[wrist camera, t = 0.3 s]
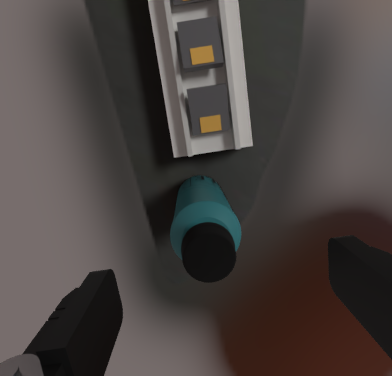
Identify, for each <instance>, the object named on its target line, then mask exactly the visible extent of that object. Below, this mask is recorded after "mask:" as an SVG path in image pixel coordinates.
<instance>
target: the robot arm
mask: <svg viewBox="0 0 392 376" xmlns="http://www.w3.org/2000/svg"><path fill="white" fill-rule="evenodd" d="M328 258H329V259H328V260H329V280H330V284H331V287H332V289H333V291H334V293H335V294H336V296H337V297H338V298H339V299H340V300H341V301H342V302H343V303H344V305H345V306H346V307H347V308H348V309H349V311H350V312H351V313H352V314H353V315H354V316H355V317H356V319H357V320H358V321H359V322H360V323H361V325H362V326H363V327H364V328H365V329H366V330H367V331H368V332H369V334H370V335H371V336H372V337H373V338H374V340H375V341H376V342H377V343H378V344H379V345H380V346H381V347H382V349H383V350H384V351H385V352H386V353H387V354H388V356H389V357H390V358H391V359H392V255H391V254H390V253H388V252H385V251H382V250H380V249H377V248H374V247H370V246H369V245H367V244H365V243H364V242H363V241H361V240H359V239H358V238H357V237H355V236H353V235H350V236H343V237H336V238H331V239H329V242H328ZM122 319H123V308H122V303H121V299H120V295H119V291H118V286H117V282H116V278H115V274H114V272H113V270H111V269H108V270H101V271H94V272H90V273H89V274H88V276H87V277H86V279H85V280H84V281H83V283H82V284H81V286H80V287H79V288H75V289H74V290H73V291H71V292H70V293H69V294H68V295H67V296H65V297H64V298H63V299H62V301H61V302H60V303H59V305H58V306H57V307H56V309H55V311H54V312H53V313H52V314H51V316H50V317H49V319H48V321H46V322H45V324H44V325H43V327H42V328H41V329H40V331H39V332H38V333H37V335H36V336H35V338H34V339H33V340H32V342H31V343H30V344H29V346H28V347H27V349H26V350H25V351H24V353H23V354H22V355H18V356H15V357H12V358H10V359H8V360H6V361H4V362H2V363H0V376H104V374H105V371H106V368H107V365H108V362H109V359H110V356H111V353H112V350H113V347H114V345H115V341H116V339H117V336H118V333H119V330H120V327H121V324H122Z"/></svg>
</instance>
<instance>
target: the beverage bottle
mask: <svg viewBox="0 0 392 376" xmlns="http://www.w3.org/2000/svg"><path fill="white" fill-rule="evenodd" d="M184 181H185V182H184V183H182V185H181V187H179V188H180V189H179V191H178V196H177V202H176V203H175V204H176V209H174V210H175V214H174V219H173V222H172V225H171V230H170V240H171V244H172V247H173V249H174V251H175V253H176V254H177V255H178V256H179V258H180V259H182V260H183V265H184V267H185V269H186V271H187V272H188V273H189V275H190V276H192V277H193V278H194V279H196V280H198V281H202V282H216V281H219V280H222V279H223V278H225V277H226V276H228V275H229V273H230V272H231V271H232V270H233V268H234V265H235V262H236V251H237V249H238V247H239V244H240V240H241V227H240V223H239V221H238V219H237V217H236V215H235V213H233V211H232V210H233V209H231V207H230V205H229V203H228V201H227V198H226V197H225V196H224V195H225V194H223V192H222V191H223V190H222V188H221V189H220V187H219V186H220V185H219V184H217V183H218V182H217V183H216V182H215V181H214V180H213V179H211V178H209V177H206V175H205V176H204V175H203V176H202V175H201V176H199V175H197V176H195V175H194V177H190V178H189V179H186V180H184ZM231 206H232V205H231ZM232 208H233V207H232Z"/></svg>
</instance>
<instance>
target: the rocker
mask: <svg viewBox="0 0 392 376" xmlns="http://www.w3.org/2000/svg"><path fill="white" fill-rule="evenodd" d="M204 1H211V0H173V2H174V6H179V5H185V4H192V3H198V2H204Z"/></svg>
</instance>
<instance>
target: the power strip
mask: <svg viewBox="0 0 392 376" xmlns="http://www.w3.org/2000/svg"><path fill="white" fill-rule="evenodd" d="M148 4H149V10H150V16H151V22H152V28H153V34H154V40H155V46H156V52H157V58H158V64H159V70H160V76H161V82H162V88H163V94H164V100H165V106H166V112H167V118H168V124H169V130H170V136H171V142H172V148H173V154H174V158H176V157H183V156H188V157H190V156H193V155H196V154H203V153H209V152H216V151H222V150H229V149H236V150H237V149H241V148H242V147H249V146H253V144H252V134H251V124H250V114H249V104H248V94H247V84H246V74H245V64H244V55H243V45H242V35H241V25H240V15H239V5H238V0H211V1H204V2H198V3H192V4H185V5H179V6H174V2H173V0H148ZM214 16H217V23H218V29H219V35H220V42H221V48H222V54H223V61H224V64H223V67H219V68H212V69H206V70H200V71H193V72H187V73H184V69H183V62H182V56H181V49H180V42H179V36H178V29H177V22H182V21H188V20H195V19H201V18H208V17H214ZM222 83H226V87H227V99H228V112H229V125H230V130H228V131H222V132H215V133H209V134H202V135H195V136H193V130H192V123H191V117H190V110H189V103H188V96H187V89H189V88H196V87H202V86H209V85H215V84H222Z"/></svg>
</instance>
